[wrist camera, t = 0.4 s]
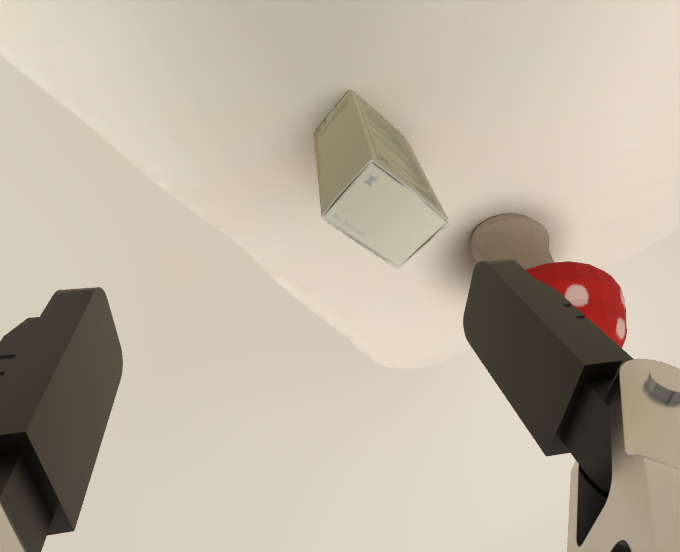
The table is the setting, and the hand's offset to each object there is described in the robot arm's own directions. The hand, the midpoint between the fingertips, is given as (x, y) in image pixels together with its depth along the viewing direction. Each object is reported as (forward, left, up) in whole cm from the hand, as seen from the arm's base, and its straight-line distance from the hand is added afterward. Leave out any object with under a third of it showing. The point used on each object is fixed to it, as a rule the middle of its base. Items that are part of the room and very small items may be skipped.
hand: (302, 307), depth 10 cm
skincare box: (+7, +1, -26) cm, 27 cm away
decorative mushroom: (+21, +9, -26) cm, 35 cm away
